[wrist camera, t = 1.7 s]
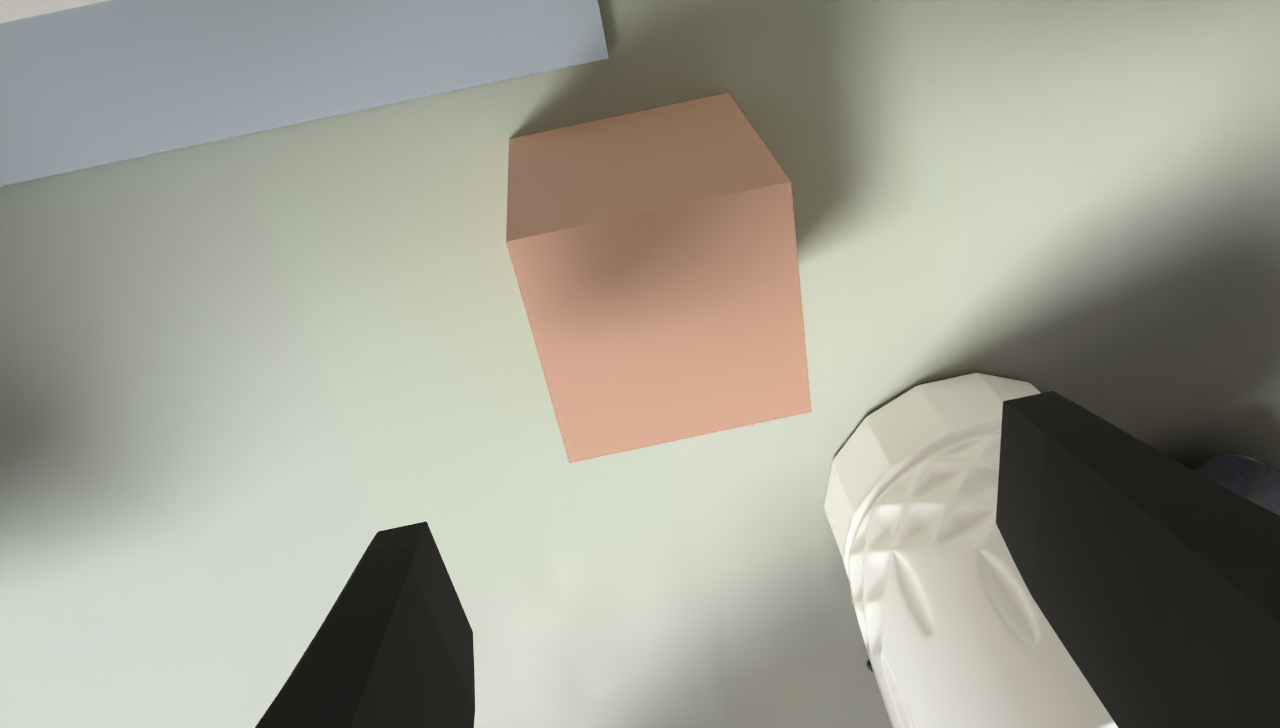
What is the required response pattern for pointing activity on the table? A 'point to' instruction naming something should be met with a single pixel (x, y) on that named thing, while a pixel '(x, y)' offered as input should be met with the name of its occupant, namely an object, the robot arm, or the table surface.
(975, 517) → the white cup
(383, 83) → the blueprint board
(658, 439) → the top block
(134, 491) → the table surface
